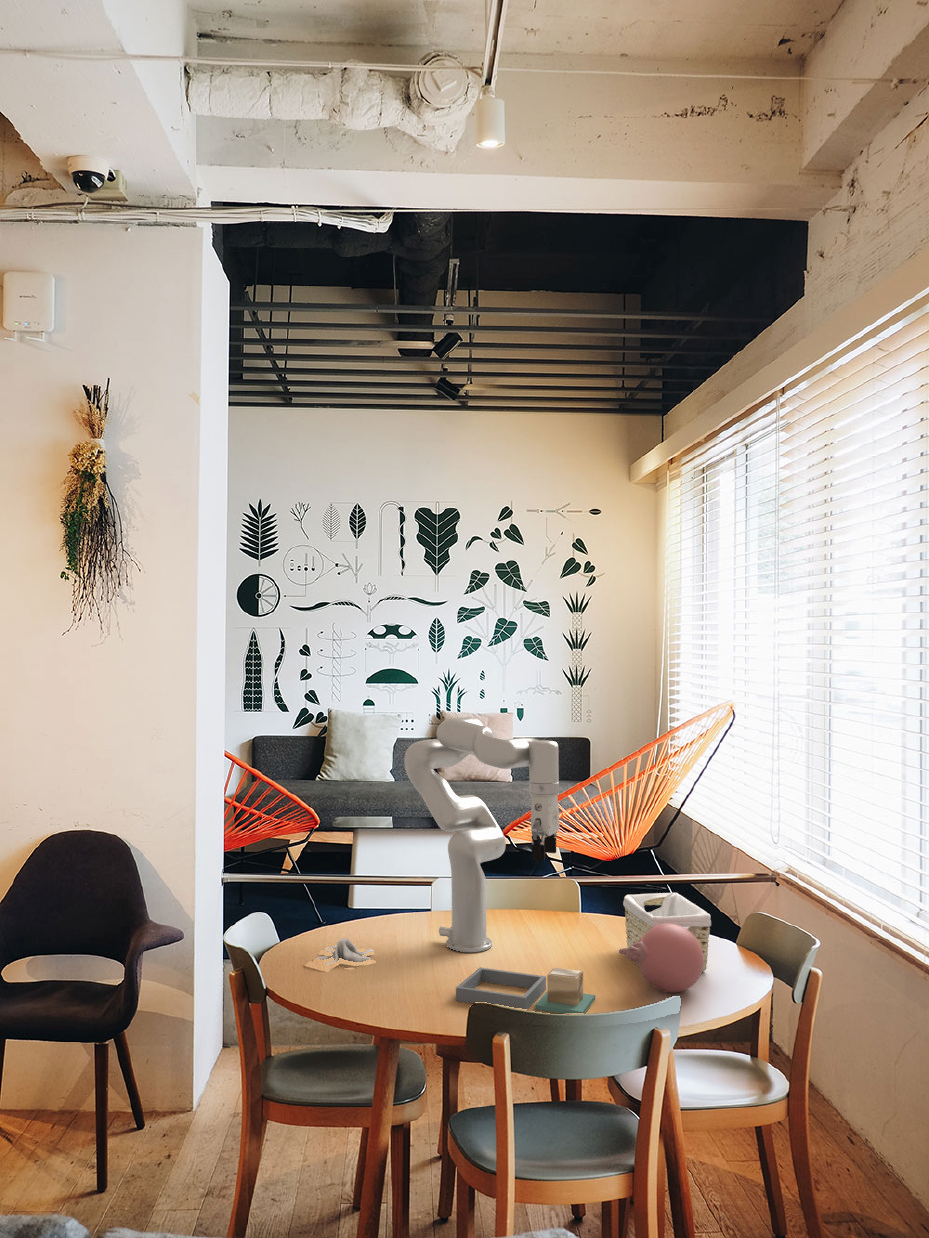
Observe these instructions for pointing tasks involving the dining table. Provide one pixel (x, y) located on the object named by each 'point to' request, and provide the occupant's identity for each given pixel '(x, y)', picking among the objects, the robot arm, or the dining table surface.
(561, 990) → the label box
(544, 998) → the mat
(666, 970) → the pink balloon
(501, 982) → the bin
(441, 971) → the dining table surface
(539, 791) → the robot arm
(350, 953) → the cloth
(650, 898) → the storage basket
